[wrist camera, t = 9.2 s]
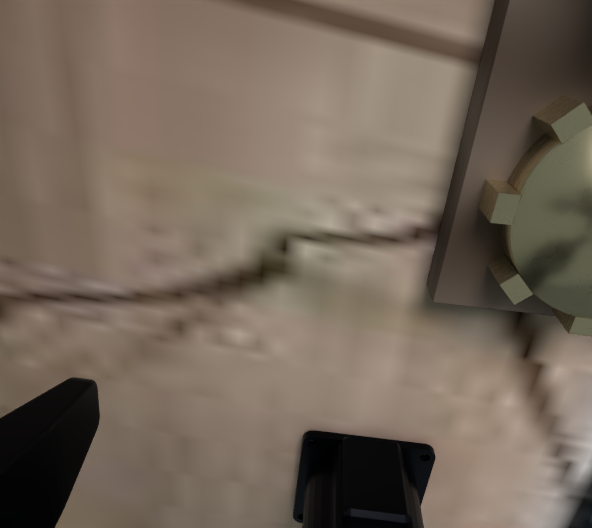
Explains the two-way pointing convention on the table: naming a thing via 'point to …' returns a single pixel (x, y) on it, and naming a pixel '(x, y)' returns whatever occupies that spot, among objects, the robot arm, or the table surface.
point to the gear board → (507, 137)
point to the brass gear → (549, 217)
